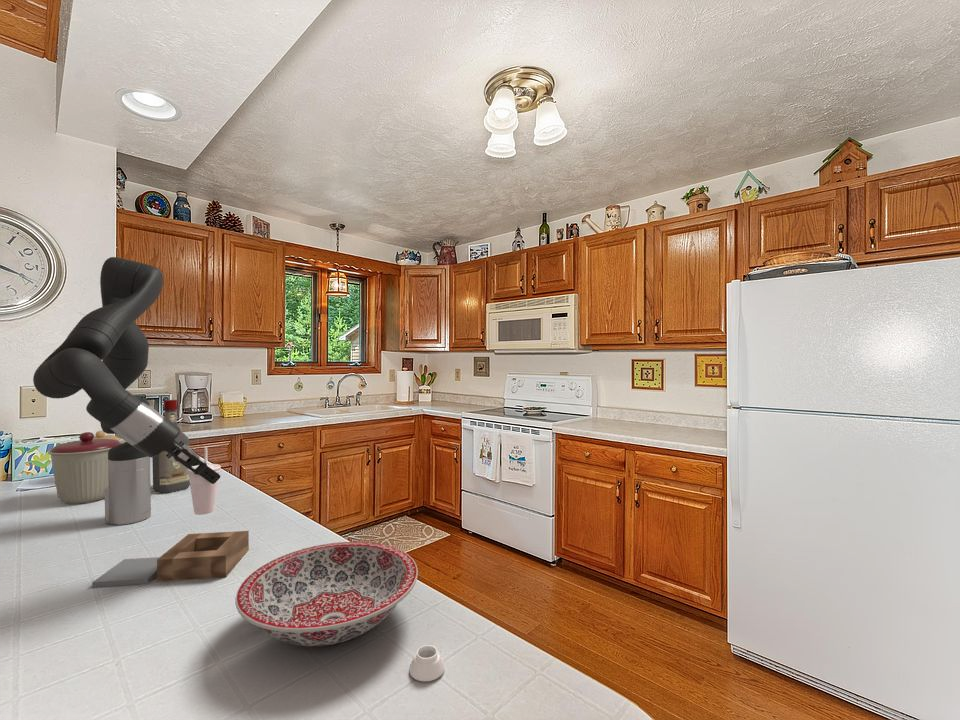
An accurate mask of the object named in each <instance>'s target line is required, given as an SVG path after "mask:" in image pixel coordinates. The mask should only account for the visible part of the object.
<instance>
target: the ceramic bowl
mask: <svg viewBox="0 0 960 720" xmlns="http://www.w3.org/2000/svg"><path fill="white" fill-rule="evenodd" d="M418 570H419V569H418V566H417V563H416V562H415V560H414V558H413V557H412V556H411V555H409V554H408V553H406V552H404V551H403V550H401V549H399V548H396V547H393V546H390V545H387V544H382V543H378V542H377V543H376V542H371V541H370V542H368V541H343V542H341V541H340V542H332V543H325V544H319V545H315V546H311V547H305V548H302V549H298V550H295V551H292V552H289V553H287V554H283V555H282V556H279V557H276V558H275V559H273V560H271V561H269V562H267V563H265V564H263V565H262V566H260V567H259V568H257V569H255V571H252V572H251V574H249V575H248V576H247V577H246V578H245V579H244V580H243V582H241V584H240V586H238V587H239V588H238V589H237V591H236V595H235V602H234V604H235V607H236V609H237V611H238V612H237V613H238V614H239V615H240V616H241V617H242V618H243V619H244V620H245V621H246V622H248V623H250V624H252V625H253V626H256V627H258V628H261V629H262V630H263V631H264V632H266V633H267V634H268V635H270V636H271V637H273V638H275V639H277V640H278V641H280V642H284V643H287V644H291V645H294V646H301V647H325V646H331V645H335V644H339V643H344V642H347V641H349V640H352V639H355V638H357V637H359V636H362V635H363V634H365V633H367V632H369V631H370V630H372V629H374V628H375V627H377V625H379V624H380V623H381V622H383V621H384V619H386V618H387V617H388V616H389V615H390V614H391V612H392V611H393V610H394V609H395V607H397V605H398V604H399V603H400V602H401V601H403V600H404V599H405V598H406V597H407V596H408V595H409V594H410V593H411V591H412V590H413V589H414V587H415V585H416V583H417V580H418V576H419V571H418Z"/></svg>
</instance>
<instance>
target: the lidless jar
mask: <svg viewBox="0 0 960 720" xmlns="http://www.w3.org/2000/svg"><path fill="white" fill-rule="evenodd" d="M443 673H445V662H444V660H443V658H442V655H441V654H440V652H439V651H438V649H437V648H436V646H434V645H430V644H426V645H422V646H420V647H419V648H418V649H417V650H416V653H415V655H414V656H413V659H412V660H411V663H410V665H409V674H410V676H411V677H412V678H414V679H415V681H419V682H432V681H434V680H437V679H438V678H440V677H441V676H442V675H443Z"/></svg>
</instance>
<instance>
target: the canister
mask: <svg viewBox="0 0 960 720" xmlns="http://www.w3.org/2000/svg"><path fill="white" fill-rule="evenodd" d="M94 436H95V434H94V433H93V432H91V431H90V432H89V431H87V432H82V433H80V434H79V436H78V437H79V440H73V441H67V442H63V443H60V444H58V445H54V446H53V447H52V448H51V449H48V450H47V451H46V452H47V454H48V455H49V456H50V460H51V465H52V466H51V467H52V472H53V478H54V483H55V487H56V488H55V489H56V493H57V496H58V499H59V500H60V502H62V503H64V504H69V503H70V504H71V505H72V504H73V505H76V504H77V503H79V504H86V502H88V503H92V501H93V502H98V501H100V500H103V499H104V500H105V488H107V487H109V482H108V451H109V449H110V448H112V447H114V446H117V445H119V444H122V443H123V442H122V441H120V440H118V441H117V440H114V439H93V438H94ZM70 504H69V505H70Z"/></svg>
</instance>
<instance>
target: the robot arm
mask: <svg viewBox="0 0 960 720" xmlns="http://www.w3.org/2000/svg"><path fill="white" fill-rule="evenodd" d="M99 278H100V279H99V284H100V285H99V287H100V296H101V297H100V298H101V306H102V307H98V308H96V309H94V310H92V311H90V312H88V313H87V314H86V315H84V316H83V317H82V318H80V320H79V322H78V323H77V324H76V325H75V326H74V327H73V329H72V330H71V331H70V332H69V334H68V335H67V337H66V339H65V340H64V341H63V342H62V343H61V344H60V345H59V346H58V347H57V348H56V349H54V351H53V352H51V354H50V355H49V356H47V357H46V358H45V359H44V361H43V362H42V363H40V365H39V366H38V367H37V368H36V369H35V371H34V374H33V378H32V380H33V381H32V382H33V386H34V387H35V389H36V391H37V392H38V393H40V395H42V396H44V397H46V398H50V399H64V398H68V397H71V396H74V395H75V394H76V393H78V392H80V391H81V390H83V391H84V392H85V393H86V394H87V397H89V398H90V400H89V402H88V403H87V404H86V408H85V409H86V412H87V414H89V415H90V416H91V417H92V418H94V419H95V420H97V421H98V422H99V423H100V428H101V431H104V433H105V434H106V435H116V436H117V437H118V438H120V439H122V441H124V442H122V444H119V445H117V446H114V447H112V448H110V449H109V451H108V482H109V487H107V488H105V498H104V523H105V524H110V525H114V526H116V525H117V526H118V525H120V526H121V525H128V524H133V523H137V522H141V521H145V520H147V519H148V518H150V517H151V515H152V504H151V503H152V500H151V499H152V495H151V494H152V492H151V489H152V487H151V486H152V485H151V458H152V457H155V456H157V455H159V454H160V453H161V452H162V451H166V452H168V453H167V454H166V455H165V456H166V457H168V459H170V460H171V461H172V462H176V463H178V464H179V465H180V466H182V467H183V468H184V469H187V470H188V469H190V470H191V471H193V472H194V474H196V475H200V476H202V477H203V478H204V479H206V480H207V481H209V482H210V483H212V484H214V483H216V482H217V480H218V481H219V480H220V478H221V474H220V473H219V474H218V473H216V472H215V471H214V470H212V469H211V468H210V467H208V465H206V463H205V462H204V461H202V460H201V459H200V458H201V457H200V455H199V454H197V453H196V452H195V451H194V450H192V449H191V448H190V447H189V446H187V445H186V444H184V443H183V442H182V441H180V442H179V443H177V442H176V441H175V438H177V437H178V435H179V433H180V431H181V428H180V427H179V426H176V425H175V424H174V423H172V422H171V421H170V420H168V419H167V418H166V417H165V415H163V414H162V413H160V412H159V411H158V410H156V409H155V408H153V407H152V406H151V404H150V402H149V401H148V399H146V398H138V397H137V396H135V395H134V394H132V393H131V392H130V391H129V390H126V389H128V388H129V387H130V386H131V385H132V384H133V383H134V382H135V381H137V379H139V377H140V376H141V375H142V374H143V373H144V372H145V370H146V368H147V366H148V364H149V363H148V362H149V349H150V348H149V341H148V339H147V337H146V336H145V333H144V332H143V331H142V329H141V328H140V327H139V325H138V324H137V323H136V322H135V321H136V320H137V319H139V318H140V317H141V316H142V315H143V314H144V313H145V312H146V311H147V310H148V309H149V308H151V306H152V305H153V304H154V303H155V302H156V301H157V299H158V298H159V296H160V294H161V292H162V289H163V285H164V275H163V272H162V271H161V269H160V268H159V267H156V266H154V265H151V264H147V263H143V262H139V261H135V260H131V259H127V258H122V257H117V256H116V257H115V256H111V257H109V258H107V259H106V260H104V262H103V264H102V267H101V270H100V276H99ZM197 465H199V466H198V467H197V468H196V469H194V468H192V467H193V466H197Z"/></svg>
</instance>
